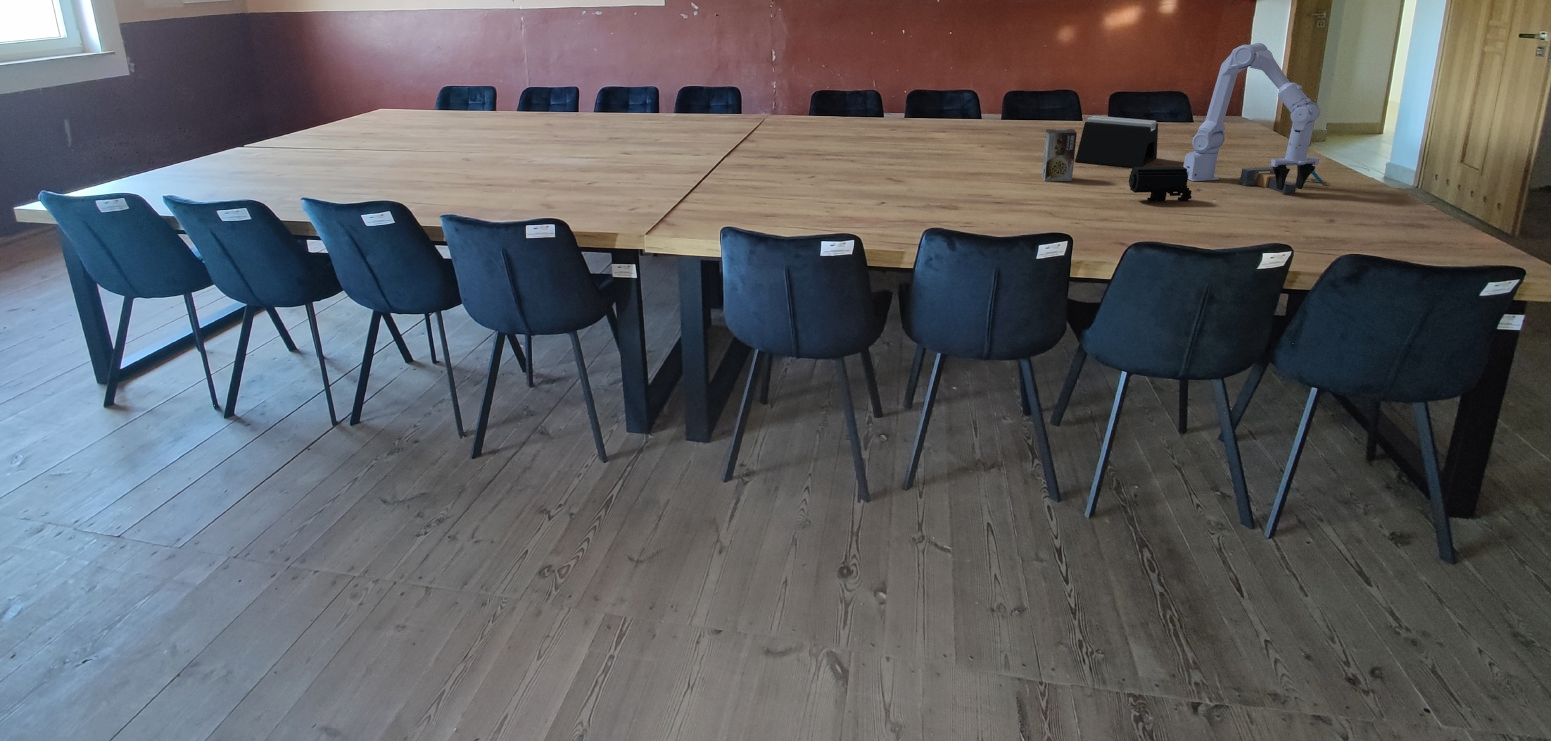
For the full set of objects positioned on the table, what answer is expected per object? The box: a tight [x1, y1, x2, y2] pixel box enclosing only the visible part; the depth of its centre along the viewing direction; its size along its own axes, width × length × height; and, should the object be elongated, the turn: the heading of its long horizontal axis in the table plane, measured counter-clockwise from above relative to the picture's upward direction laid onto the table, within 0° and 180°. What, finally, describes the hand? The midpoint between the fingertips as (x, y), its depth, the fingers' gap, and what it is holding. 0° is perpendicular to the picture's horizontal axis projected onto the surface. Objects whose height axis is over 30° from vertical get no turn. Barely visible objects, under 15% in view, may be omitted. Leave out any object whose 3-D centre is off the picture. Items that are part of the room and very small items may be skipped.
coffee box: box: [1041, 128, 1078, 182], centre depth 303 cm, size 9×6×16 cm
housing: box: [1238, 166, 1287, 187], centre depth 294 cm, size 14×3×5 cm, turn 98°
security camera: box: [1128, 165, 1192, 203], centre depth 275 cm, size 7×18×10 cm, turn 89°
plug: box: [1256, 172, 1297, 196], centre depth 288 cm, size 15×4×4 cm, turn 8°
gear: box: [1295, 170, 1323, 183], centre depth 297 cm, size 11×6×10 cm
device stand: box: [1074, 115, 1159, 170], centre depth 329 cm, size 22×22×15 cm
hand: (1289, 188), depth 283 cm, fingers open, 6 cm apart
